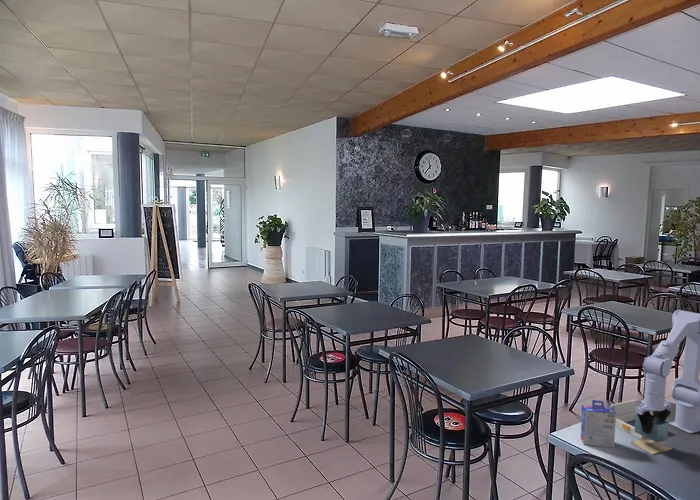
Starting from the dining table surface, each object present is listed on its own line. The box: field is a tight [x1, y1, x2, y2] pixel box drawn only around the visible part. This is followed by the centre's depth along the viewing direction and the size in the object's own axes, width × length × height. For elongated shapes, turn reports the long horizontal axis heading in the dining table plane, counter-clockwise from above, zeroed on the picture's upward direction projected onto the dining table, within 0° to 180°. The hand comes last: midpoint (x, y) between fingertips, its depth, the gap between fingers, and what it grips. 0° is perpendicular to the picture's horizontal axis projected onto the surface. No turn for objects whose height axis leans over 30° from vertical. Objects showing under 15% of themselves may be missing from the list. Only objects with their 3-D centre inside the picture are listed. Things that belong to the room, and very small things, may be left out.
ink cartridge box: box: [580, 399, 616, 448], centre depth 161 cm, size 10×6×14 cm, turn 78°
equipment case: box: [615, 412, 646, 440], centre depth 172 cm, size 13×12×2 cm
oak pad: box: [630, 438, 673, 455], centre depth 159 cm, size 9×8×1 cm
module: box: [634, 415, 669, 443], centre depth 159 cm, size 5×8×6 cm, turn 21°
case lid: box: [609, 399, 638, 416], centre depth 177 cm, size 13×2×7 cm, turn 111°
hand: (651, 430), depth 159 cm, fingers closed on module, 5 cm apart
